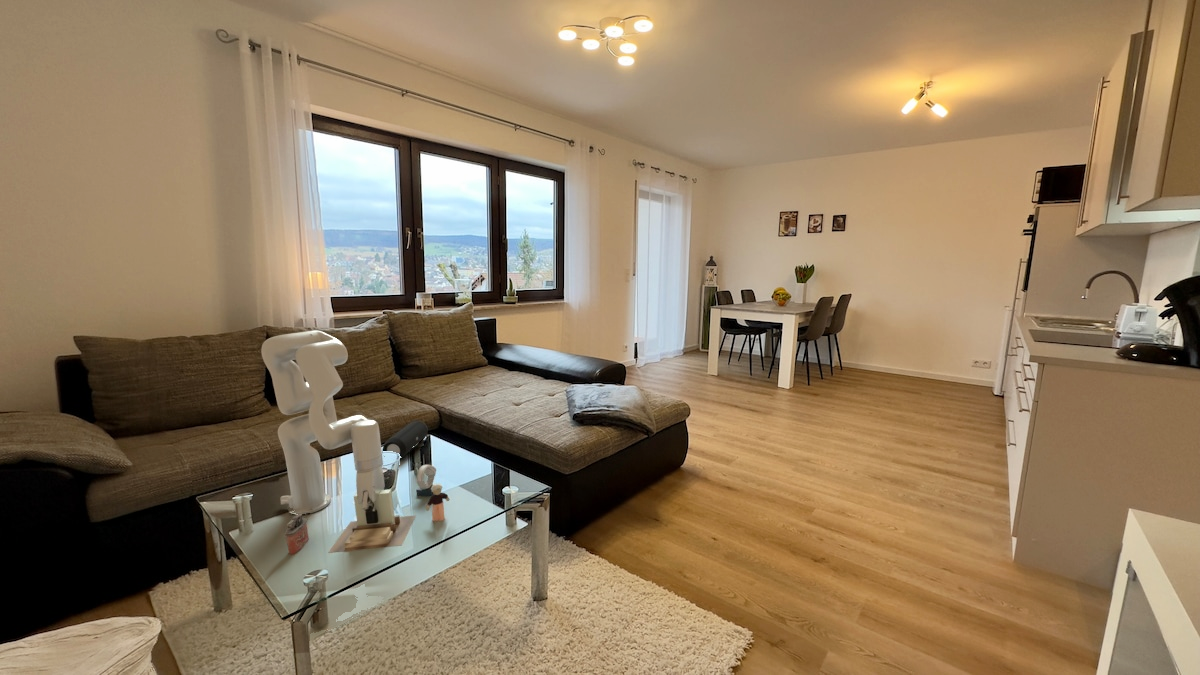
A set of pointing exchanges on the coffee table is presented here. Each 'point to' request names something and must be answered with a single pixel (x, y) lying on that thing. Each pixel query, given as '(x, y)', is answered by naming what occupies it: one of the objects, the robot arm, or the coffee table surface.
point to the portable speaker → (406, 438)
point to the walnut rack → (398, 528)
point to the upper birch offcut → (370, 534)
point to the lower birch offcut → (368, 542)
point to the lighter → (296, 534)
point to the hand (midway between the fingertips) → (375, 517)
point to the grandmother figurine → (437, 503)
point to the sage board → (382, 506)
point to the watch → (426, 488)
